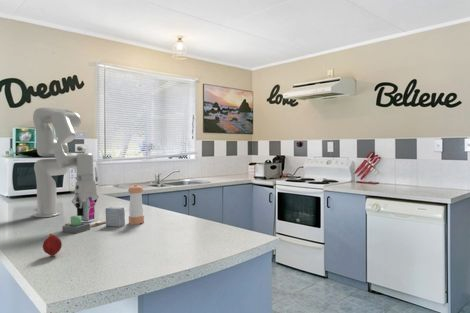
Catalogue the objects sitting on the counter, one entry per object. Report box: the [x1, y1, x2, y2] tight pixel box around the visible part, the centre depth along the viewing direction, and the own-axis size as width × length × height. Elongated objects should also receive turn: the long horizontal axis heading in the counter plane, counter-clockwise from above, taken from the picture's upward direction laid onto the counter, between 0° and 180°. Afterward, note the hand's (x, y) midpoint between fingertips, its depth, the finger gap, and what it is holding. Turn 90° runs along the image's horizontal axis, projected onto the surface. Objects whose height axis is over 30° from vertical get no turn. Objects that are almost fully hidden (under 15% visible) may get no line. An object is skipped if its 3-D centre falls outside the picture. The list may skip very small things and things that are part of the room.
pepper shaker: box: [127, 183, 145, 225], centre depth 169 cm, size 7×7×19 cm
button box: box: [61, 223, 91, 234], centre depth 155 cm, size 8×8×2 cm
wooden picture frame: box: [64, 219, 106, 229], centre depth 168 cm, size 16×11×1 cm
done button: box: [70, 215, 82, 227], centre depth 155 cm, size 4×4×5 cm
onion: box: [42, 233, 63, 257], centre depth 119 cm, size 6×6×8 cm
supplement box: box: [79, 197, 95, 221], centre depth 168 cm, size 6×6×12 cm
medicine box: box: [105, 206, 126, 228], centre depth 164 cm, size 8×4×9 cm, turn 71°
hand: (86, 214), depth 168 cm, fingers closed on supplement box, 6 cm apart
